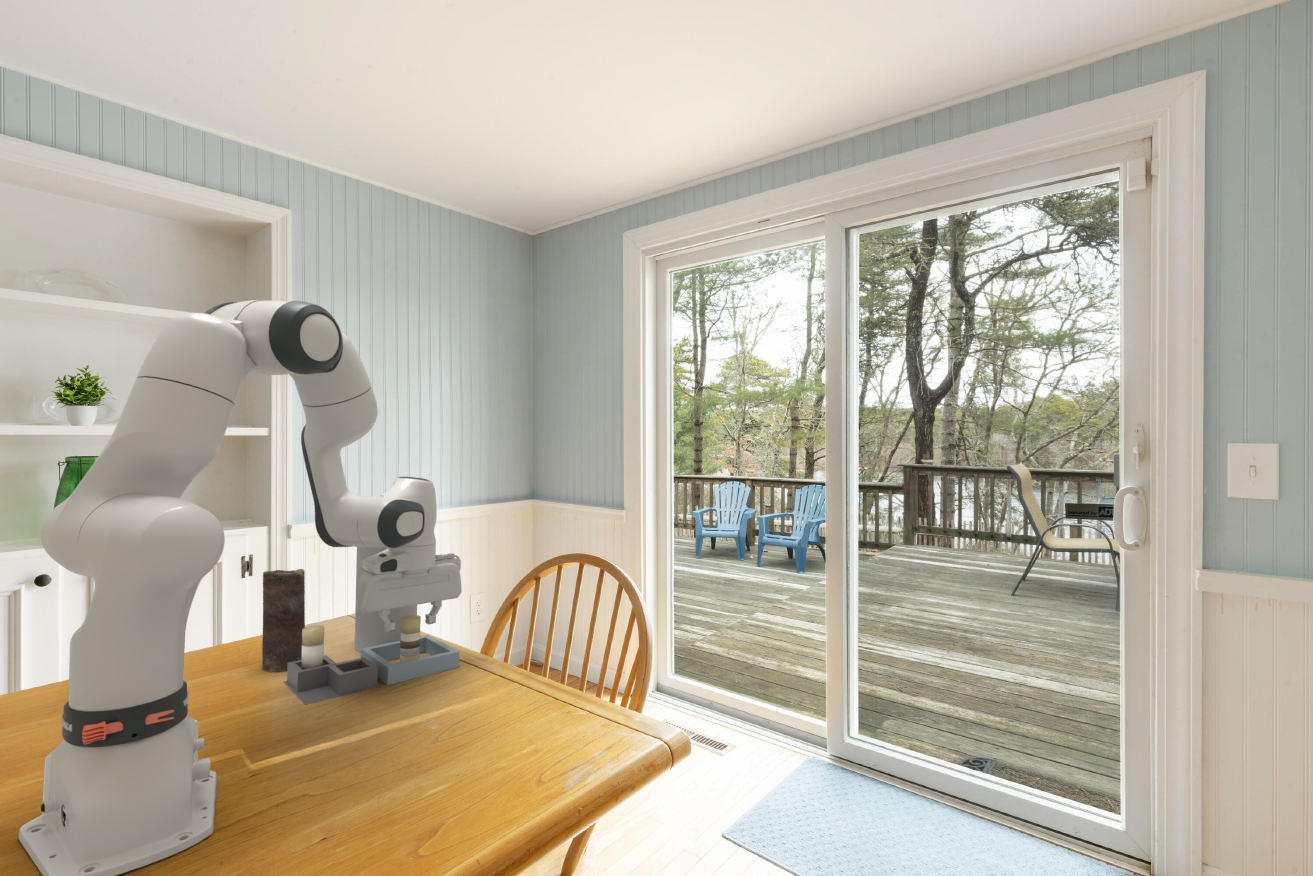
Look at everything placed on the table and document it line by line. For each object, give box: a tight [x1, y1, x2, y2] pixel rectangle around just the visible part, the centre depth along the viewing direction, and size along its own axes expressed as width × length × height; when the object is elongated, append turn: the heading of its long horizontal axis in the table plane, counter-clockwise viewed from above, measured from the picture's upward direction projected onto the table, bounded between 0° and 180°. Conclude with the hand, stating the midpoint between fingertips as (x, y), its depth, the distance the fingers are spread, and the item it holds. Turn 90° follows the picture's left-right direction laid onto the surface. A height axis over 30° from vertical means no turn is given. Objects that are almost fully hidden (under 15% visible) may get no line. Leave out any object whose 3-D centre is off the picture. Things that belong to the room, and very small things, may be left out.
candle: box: [261, 568, 306, 673], centre depth 126 cm, size 8×7×20 cm
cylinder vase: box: [354, 547, 418, 654], centre depth 140 cm, size 12×12×25 cm
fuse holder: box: [283, 654, 381, 706], centre depth 118 cm, size 14×13×4 cm
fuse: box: [301, 624, 325, 670], centre depth 118 cm, size 4×4×10 cm
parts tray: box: [360, 634, 460, 686], centre depth 128 cm, size 14×14×4 cm
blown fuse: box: [399, 614, 422, 663], centre depth 128 cm, size 4×4×10 cm
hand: (410, 627), depth 128 cm, fingers open, 7 cm apart
